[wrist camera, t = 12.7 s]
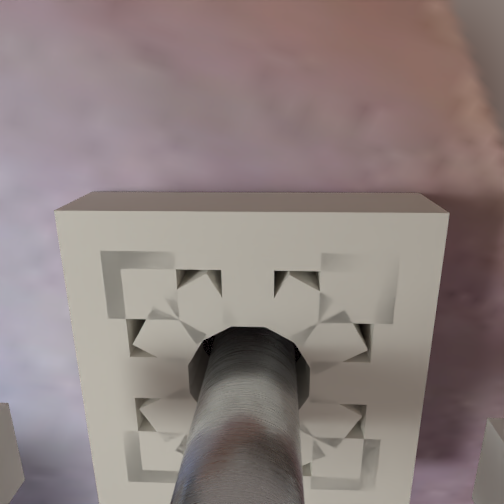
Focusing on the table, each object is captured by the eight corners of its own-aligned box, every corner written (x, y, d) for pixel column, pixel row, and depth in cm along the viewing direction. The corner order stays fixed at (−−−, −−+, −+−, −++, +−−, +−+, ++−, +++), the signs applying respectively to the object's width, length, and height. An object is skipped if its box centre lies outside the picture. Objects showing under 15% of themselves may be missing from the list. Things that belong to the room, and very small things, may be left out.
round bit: (217, 371, 19) (126, 776, 8) (214, 302, 18) (104, 653, 7) (293, 373, 19) (315, 791, 7) (295, 303, 18) (323, 666, 6)
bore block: (124, 449, 21) (99, 505, 18) (92, 191, 17) (54, 210, 14) (388, 459, 20) (406, 519, 17) (419, 192, 16) (449, 213, 13)
